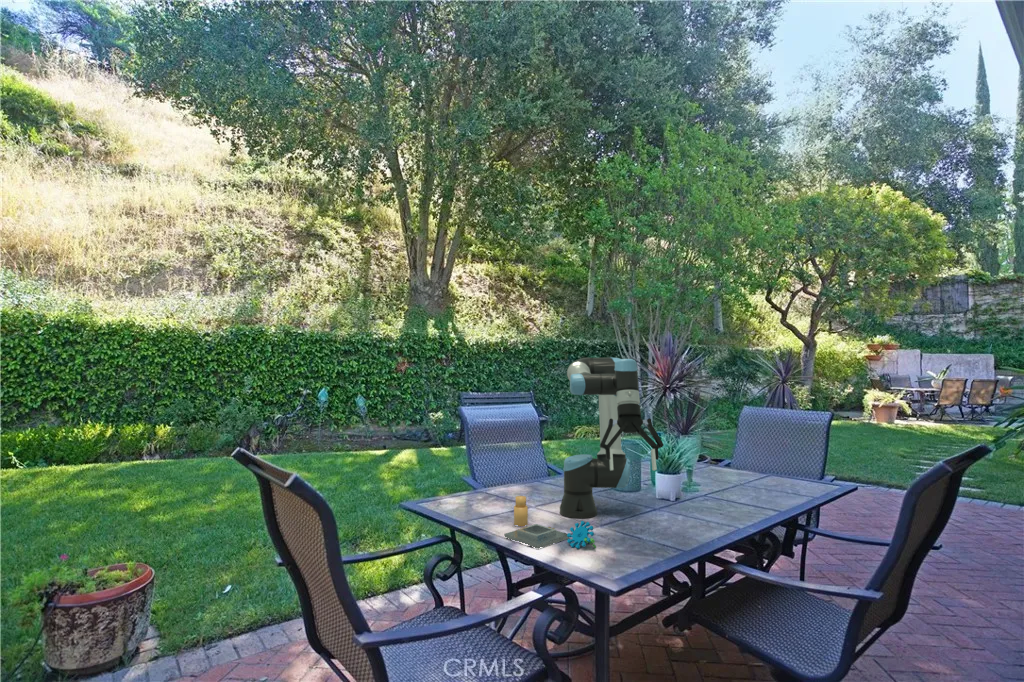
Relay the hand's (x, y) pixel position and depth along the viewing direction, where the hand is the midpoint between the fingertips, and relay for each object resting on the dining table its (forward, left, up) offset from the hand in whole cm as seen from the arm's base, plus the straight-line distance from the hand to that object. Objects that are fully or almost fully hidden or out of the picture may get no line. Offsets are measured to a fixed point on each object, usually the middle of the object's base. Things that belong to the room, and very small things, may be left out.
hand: (633, 470), depth 172 cm
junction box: (+10, -33, -27) cm, 44 cm away
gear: (+5, -17, -27) cm, 33 cm away
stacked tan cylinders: (+3, -48, -27) cm, 56 cm away
